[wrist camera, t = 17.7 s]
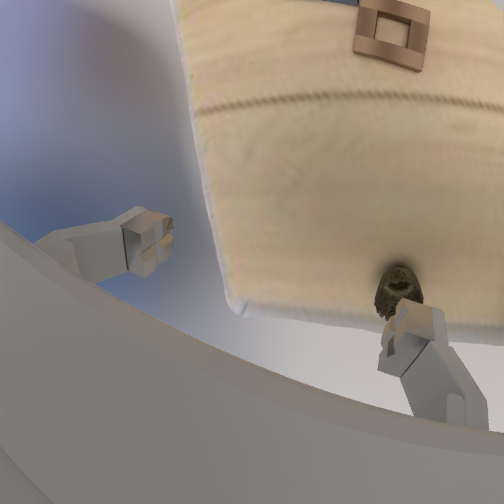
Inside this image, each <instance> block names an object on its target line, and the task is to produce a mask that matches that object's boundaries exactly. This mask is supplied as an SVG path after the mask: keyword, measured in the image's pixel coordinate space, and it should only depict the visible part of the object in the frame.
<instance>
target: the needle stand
mask: <svg viewBox="0 0 504 504" xmlns="http://www.w3.org/2000/svg"><path fill="white" fill-rule="evenodd" d="M378 16H381V17H384V18H388V19H392V20H395V21H399V22H402V23H405V24H408V25H409V31H408V38H407V45H406V48H404V47H400V46H397V45H394V44H391V43H387V42H384V41H380V40H376V39H374V38H375V32H376V25H377V18H378ZM429 20H430V11H428V10H426V9H423V8H420V7H417V6H414V5H410V4H407V3H404V2H400V1H397V0H360V7H359V14H358V21H357V28H356V34H355V40H354V46H353V51H354V53H355V54H360V55H363V56H367V57H371V58H375V59H378V60H382V61H385V62H389V63H392V64H395V65H398V66H401V67H404V68H407V69H410V70H413V71H416V72H420V71H422V67H423V61H424V56H425V49H426V43H427V36H428V29H429Z"/></svg>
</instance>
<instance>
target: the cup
mask: <svg viewBox="0 0 504 504" xmlns="http://www.w3.org/2000/svg"><path fill="white" fill-rule="evenodd" d="M401 298H405V299H408V300H411V301H414V302H417V303H420V304H423V299H424V297H423V295H422V291H421V288H420V284H419V282H418V279H417V277H416V276H415V274H414V273H413V272H412V271H410V270H409V269H407V268H405V267H402V266H396V267H394V268H392V269H390V270H389V271H387V272H386V273H385V274H384V275H383V277H382V279H381V281H380V283H379V286H378V290H377V293H376V296H375V303H374V306H376V310H377V313H379V315H380V317H383V316H384V315H385V319H386V321H388V320H389V318H390V317H391V316H393V315H395V314H396V306H397V304H398V302H399V301H400V300H401Z"/></svg>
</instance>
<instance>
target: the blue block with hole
mask: <svg viewBox="0 0 504 504" xmlns="http://www.w3.org/2000/svg"><path fill="white" fill-rule="evenodd" d="M325 1H331V2H337V3H343V4H349V5H354V6H358V4H359V0H325Z"/></svg>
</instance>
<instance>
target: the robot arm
mask: <svg viewBox="0 0 504 504" xmlns="http://www.w3.org/2000/svg"><path fill="white" fill-rule="evenodd" d="M172 230H173V219H172V218H171V217H169V216H167V215H164V214H161V213H158V212H156V211H153V210H150V209H148V208H145V207H142V206H136V207H134V208H132V209H131V210H129V211H127V212H125V213H124V214H122V215H120V216H119V217H117V218H115V219H114V220H112V221H110V222H108V221H104V222H98V223H93V224H88V225H82V226H77V227H72V228H67V229H62V230H57V231H53V232H51V233H50V234H48V235H46V236H45V237H43V238H41V239H40V240H38V241H37V242H35V243H34V244H31V243H30V242H29V241H27V240H26V239H25V238H23V237H22V236H20V235H19V234H18V233H16V232H15V231H14V230H12V229H11V228H10V227H8V226H7V225H6V224H4V223H3V222H2V221H0V504H504V433H501V432H493V431H489V423H488V408H487V400H486V399H485V397H484V395H483V394H482V392H481V391H480V389H479V387H478V386H477V384H476V382H475V381H474V379H473V378H472V377H471V375H470V373H469V372H468V370H467V368H466V367H465V366H464V364H463V362H462V361H461V360H460V358H459V357H458V355H457V354H456V352H455V351H454V349H453V348H452V347H450V346H448V338H447V330H446V323H445V316H444V312H443V311H442V310H440V309H437V308H433V307H430V306H426V305H423V304H420V303H417V302H414V301H411V300H408V299H405V298H401V300H400V301H399V302H398V304H397V306H396V314H395V315H393V316H391V317H390V318H389V320H388V322H387V324H386V326H385V329H384V331H383V335H382V339H381V345H382V347H383V350H382V352H381V353H380V355H379V364H378V371H382V372H384V373H388V374H390V375H393V376H397V377H399V378H400V380H401V383H402V385H403V388H404V391H405V393H406V396H407V398H408V401H409V404H410V407H411V409H412V412H413V415H414V416H410V415H406V414H402V413H398V412H394V411H390V410H387V409H383V408H379V407H375V406H372V405H369V404H365V403H362V402H358V401H355V400H352V399H349V398H346V397H342V396H339V395H336V394H333V393H330V392H327V391H324V390H321V389H318V388H315V387H313V386H310V385H307V384H304V383H301V382H299V381H296V380H293V379H291V378H288V377H285V376H283V375H280V374H277V373H275V372H272V371H270V370H267V369H265V368H262V367H260V366H257V365H255V364H253V363H250V362H248V361H246V360H243V359H240V358H238V357H236V356H234V355H231V354H229V353H227V352H225V351H222V350H220V349H218V348H215V347H213V346H211V345H209V344H207V343H205V342H203V341H200V340H198V339H196V338H194V337H192V336H190V335H187V334H186V333H184V332H182V331H179V330H178V329H176V328H174V327H172V326H170V325H168V324H166V323H164V322H162V321H160V320H157V319H156V318H154V317H152V316H150V315H148V314H146V313H144V312H142V311H141V310H139V309H137V308H135V307H133V306H132V305H129V304H128V303H126V302H124V301H123V300H121V299H119V298H117V297H115V296H114V295H112V294H110V293H109V292H107V291H105V290H103V289H101V288H100V287H98V286H97V285H95V284H94V283H97V282H100V281H102V280H105V279H108V278H111V277H113V276H116V275H119V274H122V273H124V272H127V270H128V271H130V272H132V273H135V274H137V275H139V276H141V277H143V278H146V277H147V276H148V275H149V274H151V273H152V272H153V271H154V270H155V269H156V268H157V264H158V263H162V262H165V261H166V260H167V259H168V258H169V256H170V254H171V253H172V250H173V246H174V239H173V237H172V235H171V233H170V232H171V231H172Z"/></svg>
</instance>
